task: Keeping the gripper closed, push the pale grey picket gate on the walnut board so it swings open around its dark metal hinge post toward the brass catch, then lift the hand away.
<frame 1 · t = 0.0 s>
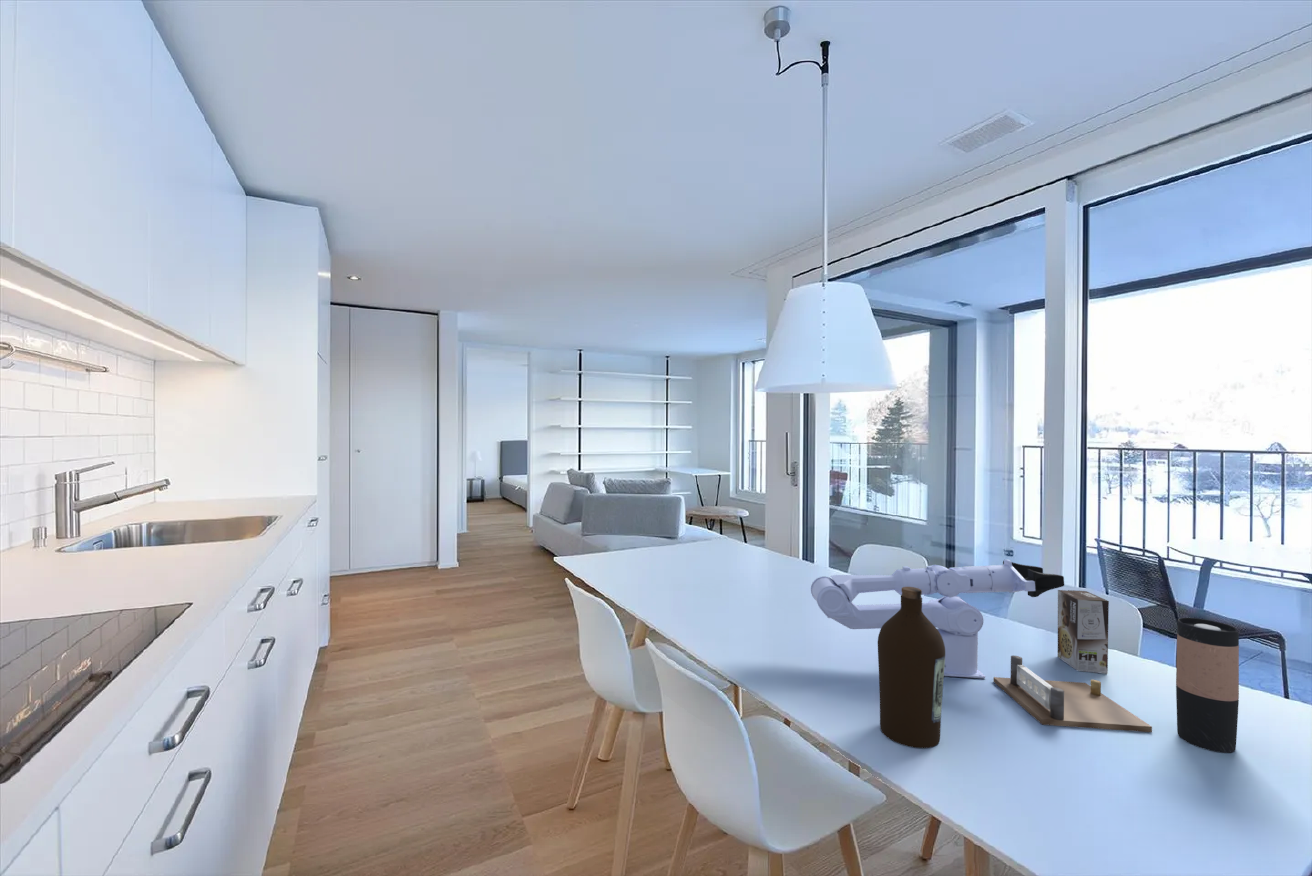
hand: (1052, 576, 122), 22 cm above the table, tool horizontal, fingers open, 7 cm apart
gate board: (1065, 704, 108), on the table
gate: (1035, 686, 108), point 4 cm above the table, hinge at 0.0°
olive oil: (909, 735, 96), on the table
coffee box: (1081, 665, 128), on the table
travel mug: (1205, 742, 95), on the table
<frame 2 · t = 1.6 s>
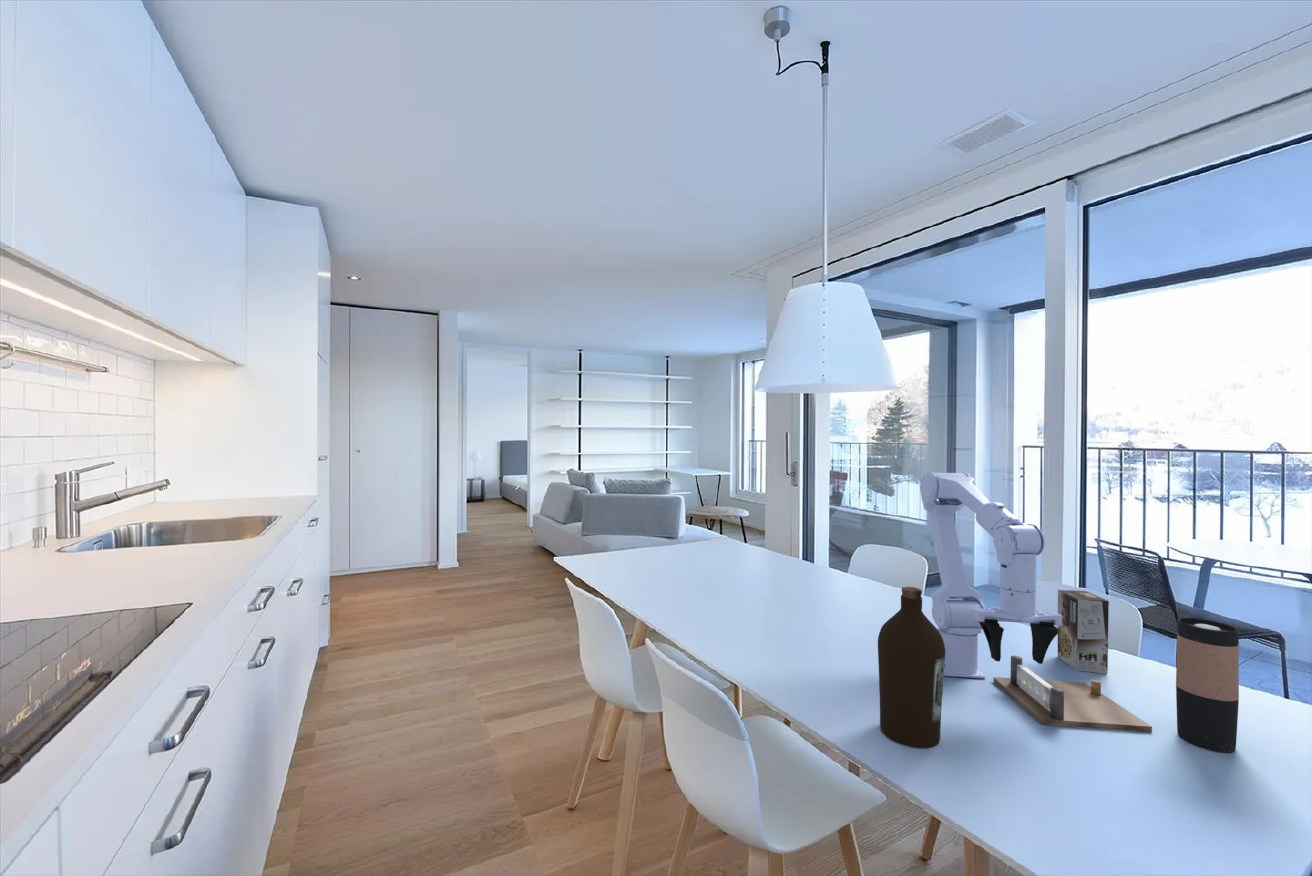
hand: (1016, 660, 106), 9 cm above the table, tool pointing down, fingers open, 7 cm apart
nothing on the table moved.
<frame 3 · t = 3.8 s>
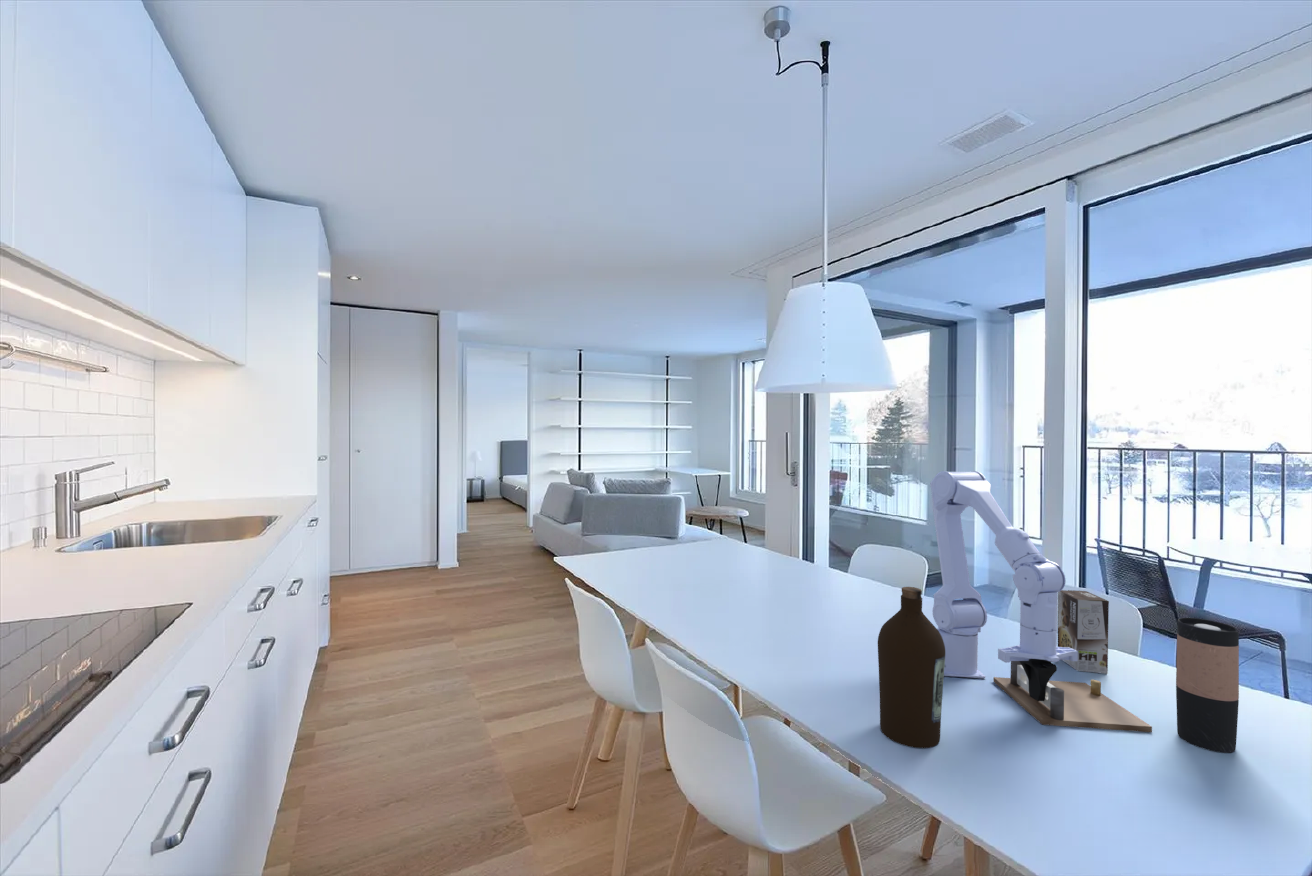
hand: (1037, 698, 105), 2 cm above the table, tool pointing down, fingers closed, pressing on gate
gate: (1037, 686, 108), point 4 cm above the table, hinge at 2.4°, touching gripper
everything else where it was.
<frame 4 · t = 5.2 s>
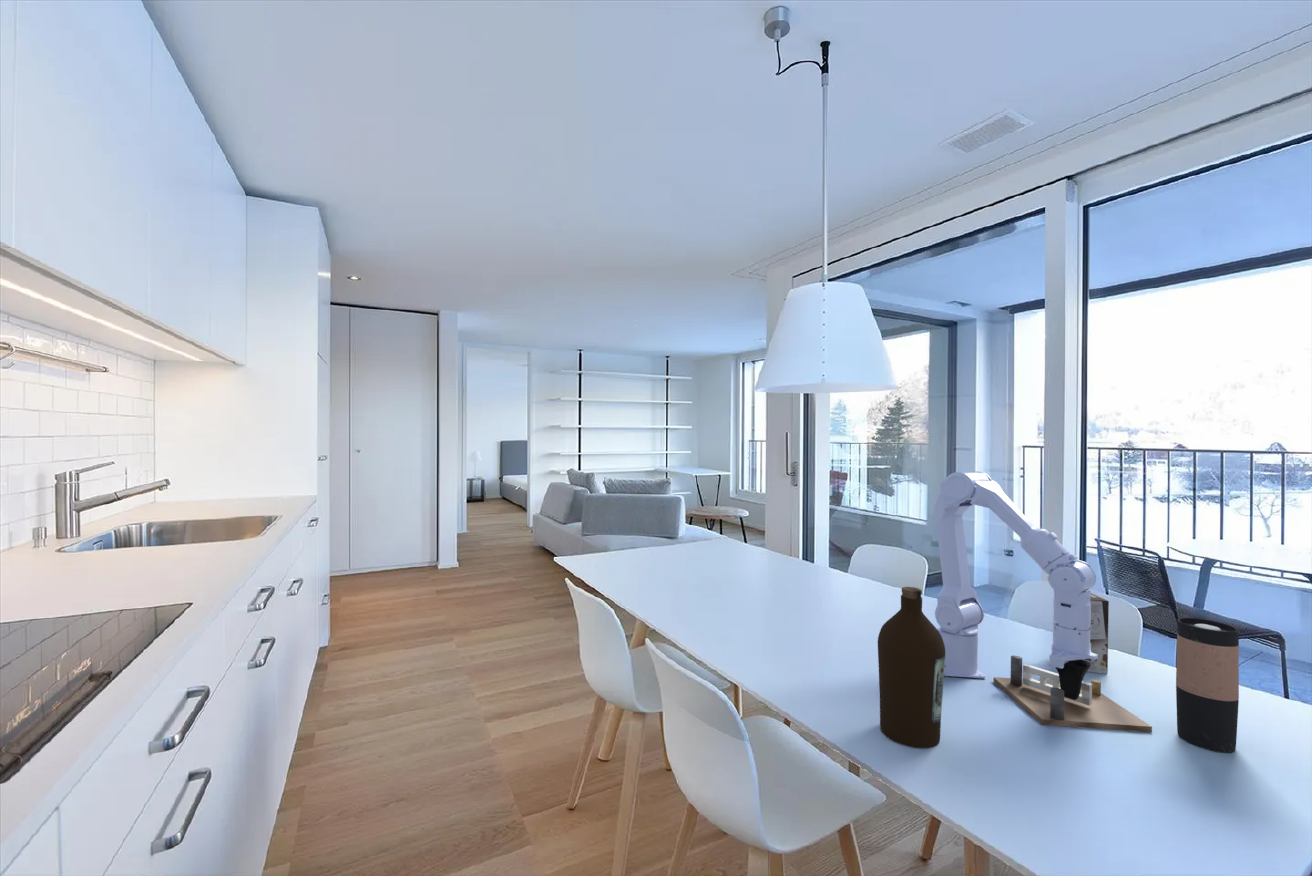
hand: (1070, 697, 106), 2 cm above the table, tool pointing down, fingers closed, pressing on gate
gate: (1056, 684, 109), point 4 cm above the table, hinge at 42.3°, touching gripper
everything else where it was.
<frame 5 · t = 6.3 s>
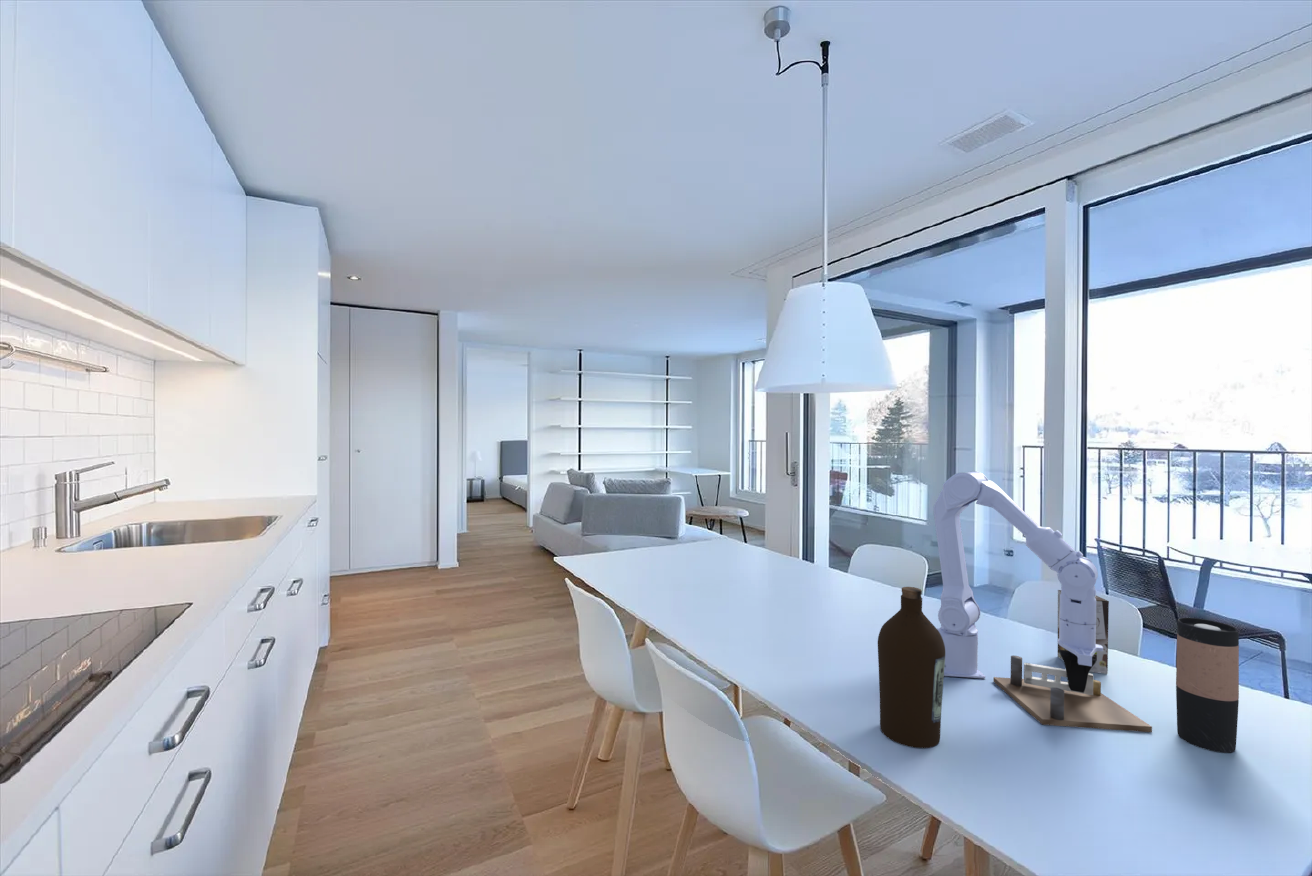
hand: (1076, 690, 109), 2 cm above the table, tool pointing down, fingers closed, pressing on gate
gate: (1057, 678, 112), point 4 cm above the table, hinge at 70.2°, touching gripper
everything else where it was.
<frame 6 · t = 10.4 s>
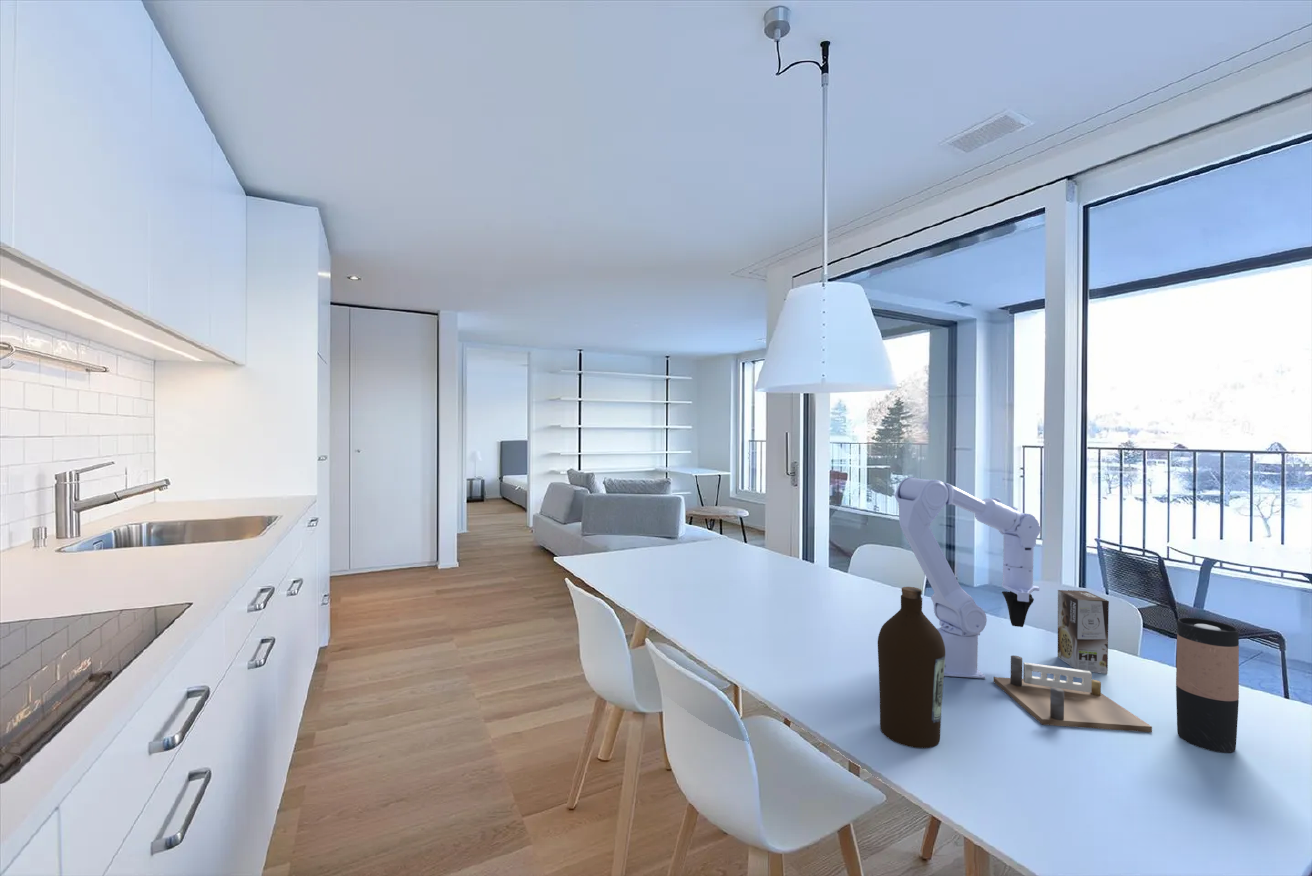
hand: (1017, 625, 126), 9 cm above the table, tool pointing down, fingers closed
gate: (1056, 677, 112), point 4 cm above the table, hinge at 75.9°
everything else where it was.
at the end: gate at +76° (first picture: +0°); travel mug moved 0.2 cm from its start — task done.
